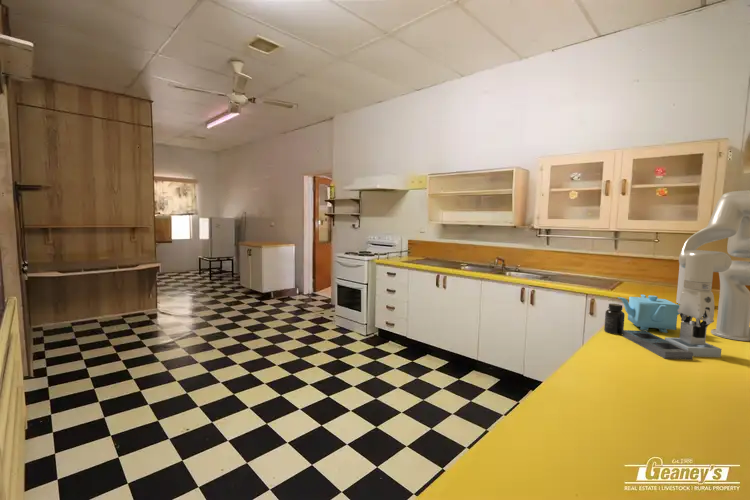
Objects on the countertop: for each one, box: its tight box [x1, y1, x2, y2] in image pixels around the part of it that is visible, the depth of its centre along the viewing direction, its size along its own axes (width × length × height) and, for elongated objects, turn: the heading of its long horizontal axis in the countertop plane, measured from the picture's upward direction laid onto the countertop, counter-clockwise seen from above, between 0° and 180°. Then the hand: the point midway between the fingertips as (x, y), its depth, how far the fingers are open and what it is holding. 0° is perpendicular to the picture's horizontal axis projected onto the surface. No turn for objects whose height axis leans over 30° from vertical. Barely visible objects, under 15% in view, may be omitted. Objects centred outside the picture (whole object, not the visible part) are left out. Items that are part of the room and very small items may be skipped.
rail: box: [621, 329, 694, 361], centre depth 134 cm, size 24×9×2 cm, turn 176°
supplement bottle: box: [603, 303, 626, 335], centre depth 151 cm, size 7×7×12 cm
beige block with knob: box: [679, 320, 708, 345], centre depth 129 cm, size 5×5×8 cm
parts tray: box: [664, 336, 722, 358], centre depth 130 cm, size 11×11×3 cm
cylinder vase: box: [675, 264, 685, 305], centre depth 202 cm, size 12×12×25 cm
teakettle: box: [617, 294, 680, 334], centre depth 157 cm, size 19×19×15 cm
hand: (692, 334), depth 129 cm, fingers closed on beige block with knob, 5 cm apart
